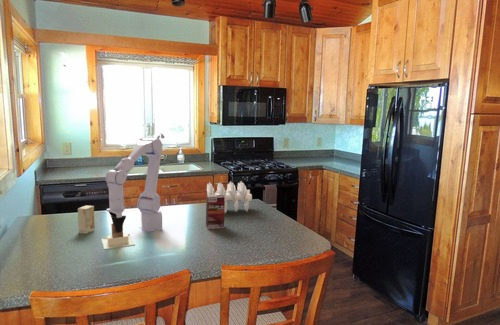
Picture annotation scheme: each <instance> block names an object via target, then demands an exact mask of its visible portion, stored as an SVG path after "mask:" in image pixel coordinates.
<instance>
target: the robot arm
mask: <svg viewBox="0 0 500 325" xmlns="http://www.w3.org/2000/svg"><path fill="white" fill-rule="evenodd" d="M163 145H164V144H163V142H162V141H161V139H160V138H153V137H152V138H150V137H140V138H139V139H138V141H137V142H136V146H135V148H134V149H133V150H132V151H131V153H130V154H129V155H128V157H124V158H121V159H120V161H119V163H118V164H117V165H116V166H114V168H112V169H110V170H108V171H107V173H106V174H105V177H104V180H105V182H106V184H107V188H108V200H109V201H108V202H109V203H108V204H109V205H108V206H109V208H106V212H108V213H109V215H110V218H111V221H112V224H114V225H115V230H116V233H118V232H122V228H123V229H124V226H123V225H124V222H125V220H126V218H127V216H126V215H123V213H124V211H125V209H126V207H125V200H124V199H125V198H124V197H125V195H124V183H126V181H127V178H128V175H129V173H130V172H131V171H132V170H133V169H134V168H135V162H136V161H138V159H140V158H141V157H142V156H143V155H145V156H147V158H148V163H147V169H146V177H145V183H144V184H145V185H144V191H143V192H141V193H140V194H139V197H138V200H137V203H136V207H137V209H138V210H139V212H140V215H141V216H140V218H141V220H140V221H141V226H140V227H139V229H140V231H141V232H142V233H146V232H152V231H153V232H154V231H163V213H162V211H161V210H160V208H161V196H160V195H159V194H158V193H157V189H158V178H159V172H160V165H161V159H162V158H161V157H162V152H163Z"/></svg>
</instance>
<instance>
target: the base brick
mask: <svg viewBox="0 0 500 325" xmlns="http://www.w3.org/2000/svg"><path fill="white" fill-rule="evenodd" d="M128 234H129V233H127V232H126V233H124V232H123V237H118V238H113V237H112V234H110V235H109V234H108V235H107V236H106V237H107V240H108V245H109V246H110V245H117V244H123V243H129V239H128Z"/></svg>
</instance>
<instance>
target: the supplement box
mask: <svg viewBox="0 0 500 325" xmlns="http://www.w3.org/2000/svg"><path fill="white" fill-rule="evenodd" d="M205 198H206V199H205V200H206V201H205V227H206V229H207V230H215V229H225V211H224V209H225V197H224V196H223V195H214V196H208V195H206V196H205Z"/></svg>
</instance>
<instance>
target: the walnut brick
mask: <svg viewBox="0 0 500 325" xmlns="http://www.w3.org/2000/svg"><path fill="white" fill-rule="evenodd" d="M123 234H124V227H123V228H122V232H118V233H116V230H115V225H114V224H113V223H111V235H112V237H113V238H118V237H123Z"/></svg>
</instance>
